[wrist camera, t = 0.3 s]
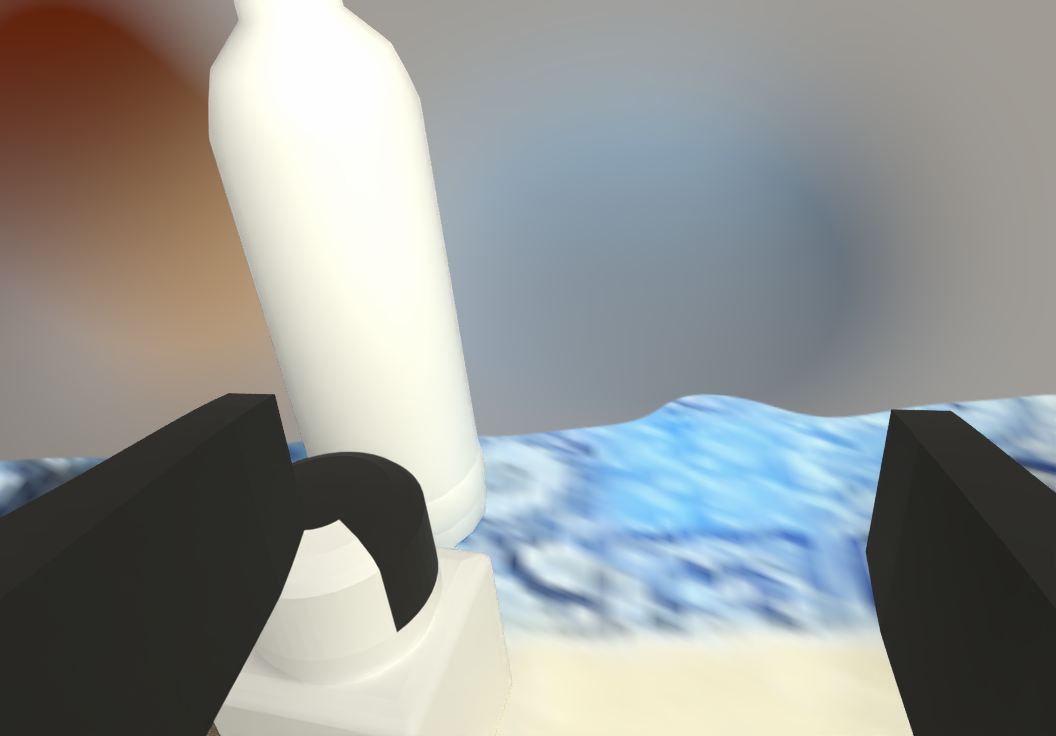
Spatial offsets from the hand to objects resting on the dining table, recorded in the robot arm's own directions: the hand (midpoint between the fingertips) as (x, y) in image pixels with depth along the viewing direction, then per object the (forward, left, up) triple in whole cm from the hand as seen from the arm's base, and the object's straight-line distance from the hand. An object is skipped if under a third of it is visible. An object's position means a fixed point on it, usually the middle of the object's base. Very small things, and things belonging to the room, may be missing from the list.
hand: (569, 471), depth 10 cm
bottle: (+23, +9, -21) cm, 33 cm away
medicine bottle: (+10, +8, -21) cm, 25 cm away
